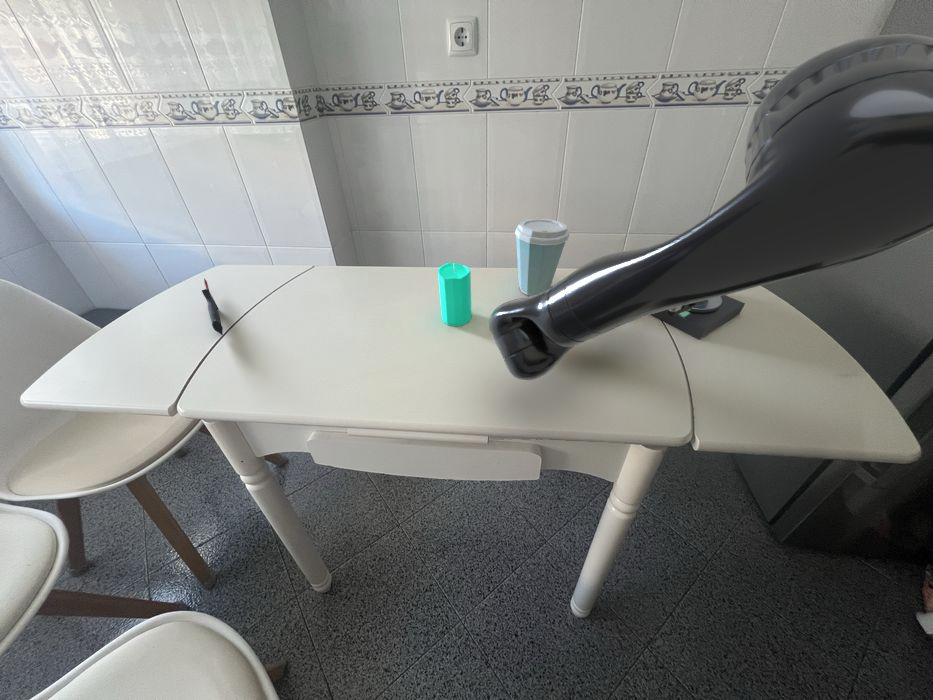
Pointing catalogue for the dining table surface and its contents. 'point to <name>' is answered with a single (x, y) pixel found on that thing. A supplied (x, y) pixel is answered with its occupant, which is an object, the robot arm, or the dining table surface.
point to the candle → (455, 293)
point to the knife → (213, 310)
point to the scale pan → (707, 305)
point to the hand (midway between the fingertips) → (673, 273)
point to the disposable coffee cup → (539, 253)
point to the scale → (703, 318)
